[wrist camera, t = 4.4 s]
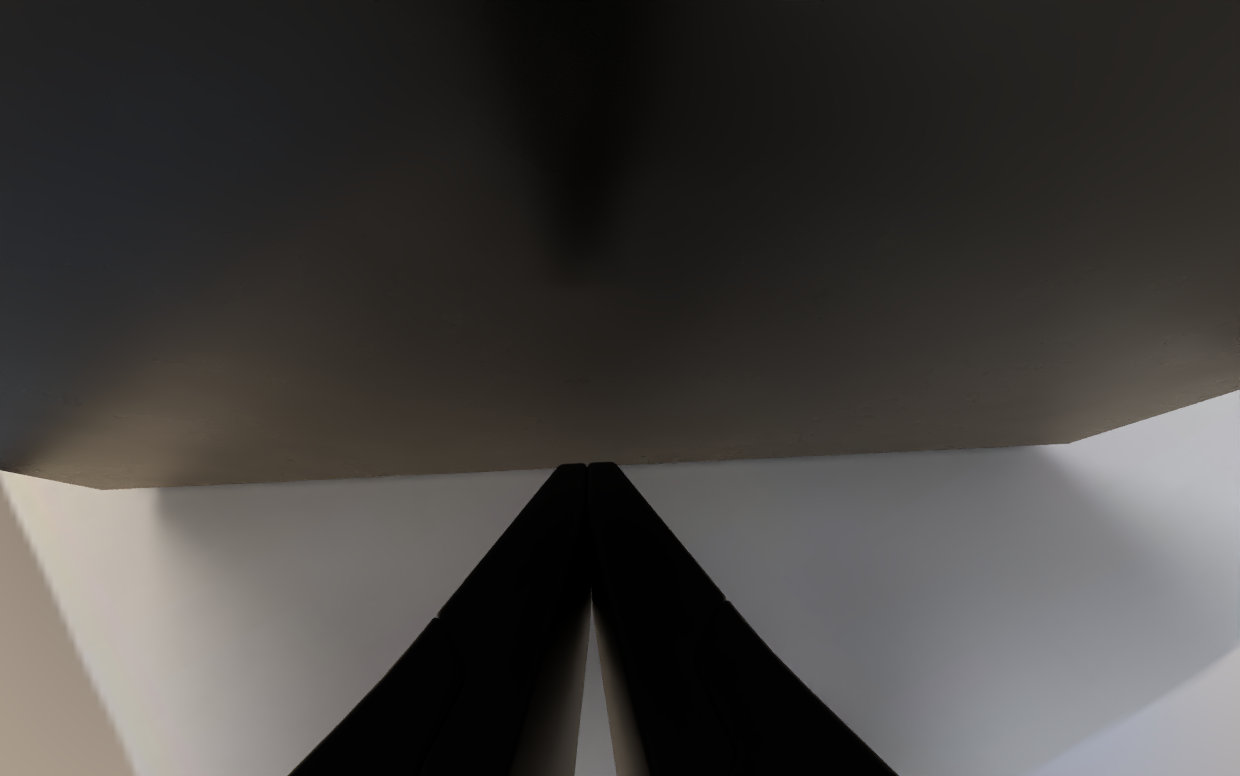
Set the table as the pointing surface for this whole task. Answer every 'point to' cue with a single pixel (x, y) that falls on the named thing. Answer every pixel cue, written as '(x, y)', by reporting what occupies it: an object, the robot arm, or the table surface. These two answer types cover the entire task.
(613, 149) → the laptop screen
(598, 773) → the table surface
